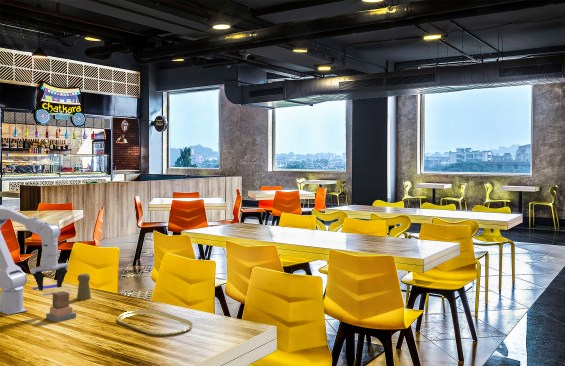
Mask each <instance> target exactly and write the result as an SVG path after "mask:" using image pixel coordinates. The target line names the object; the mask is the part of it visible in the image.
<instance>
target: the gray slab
mask: <svg viewBox="0 0 565 366" xmlns="http://www.w3.org/2000/svg"><path fill="white" fill-rule="evenodd" d="M45 316H46V318H45V319H47V320H49V321H52V322H54V323H60V322H64V321H68V320H73V319H76V318H77V313H76V312H74V311H72V313H71V314H66V315H62V316H55V315H53V314H50V312H48V313H45Z"/></svg>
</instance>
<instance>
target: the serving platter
mask: <svg viewBox="0 0 565 366" xmlns="http://www.w3.org/2000/svg"><path fill="white" fill-rule="evenodd" d="M147 314H148V315H156V316H160V317H163V318H166V317H167V319H169V318H170V319H169V320H172V319H173V321H174V320H177V321H180V322H183V323H186V324H188V325H189V326H190V327H188V328H187V329H183V330H180V331H175V332H163V333H161V332H152V331H151V332H150V331H146V330H145V329H142V328H139V327H137V326H134V325H131V324H128V323H126V322H123V321H122V320H123V319H125V318H128V317H130V316H135V315H147ZM117 321H118V322H119V324H121V325H124V326H126V327H129V328H132V329H134V330H137V331H140V333H141V332H142V333H144V334H147V335H150V336H156V335H157V336H159V337H165V336H166V337H168V336H167V335H170V336H176V335H175V334H177V335H181V334H184V333H187V332H189V330H191V329H192V327H193V322H192V321H190V320H189V319H185V318H183V317H180V316H178V315H177V316H176V315H173V314H171V313H167V312H165V311H162V310H156V309H155V310H154V309H142V310H141V309H139V310H138V309H137V310H132V311H127V312H124V313H122V314H120V315H118V316H117ZM177 321H176V322H177ZM180 322H179V323H180ZM183 323H182V324H183ZM186 324H185V325H186ZM186 331H187V332H186ZM180 333H181V334H180ZM157 336H156V337H157Z"/></svg>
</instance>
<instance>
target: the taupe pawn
mask: <svg viewBox="0 0 565 366" xmlns="http://www.w3.org/2000/svg"><path fill="white" fill-rule="evenodd" d="M90 279H91V275H90V274H88V273H81V274H79V275H78V276H77V281H78V286H77V295H76V300H78V301H87V300H91V299H92V295H91V289H90V288H91V287H90Z"/></svg>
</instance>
